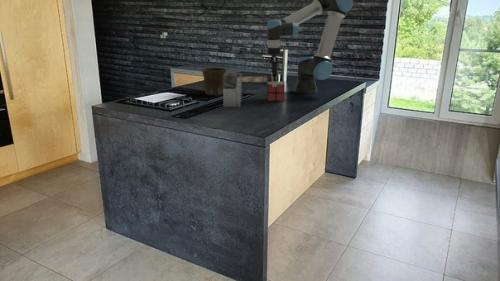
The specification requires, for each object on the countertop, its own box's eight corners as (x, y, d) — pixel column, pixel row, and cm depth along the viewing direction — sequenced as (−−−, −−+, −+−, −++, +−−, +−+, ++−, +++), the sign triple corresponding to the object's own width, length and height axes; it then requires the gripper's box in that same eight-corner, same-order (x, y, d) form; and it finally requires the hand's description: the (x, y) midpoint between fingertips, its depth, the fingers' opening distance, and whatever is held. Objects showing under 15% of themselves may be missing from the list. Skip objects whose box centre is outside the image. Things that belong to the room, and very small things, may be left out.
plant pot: (216, 90, 267) (216, 66, 262) (232, 94, 256) (232, 69, 251) (197, 93, 256) (196, 69, 251) (213, 97, 245) (212, 71, 240)
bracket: (241, 99, 239) (241, 73, 234) (240, 106, 221) (240, 78, 216) (226, 99, 239) (225, 73, 234) (223, 106, 221) (222, 78, 216)
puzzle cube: (284, 101, 235) (284, 84, 232) (267, 101, 235) (267, 84, 232) (282, 97, 245) (283, 81, 241) (266, 97, 245) (267, 81, 241)
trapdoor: (266, 81, 234) (266, 72, 232) (267, 86, 219) (267, 76, 217) (225, 81, 234) (225, 72, 232) (223, 86, 219) (223, 76, 217)
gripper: (267, 45, 241) (267, 81, 248) (268, 49, 219) (268, 88, 226) (279, 45, 241) (279, 81, 248) (281, 48, 219) (281, 88, 226)
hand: (274, 84), depth 237 cm, fingers open, 10 cm apart
